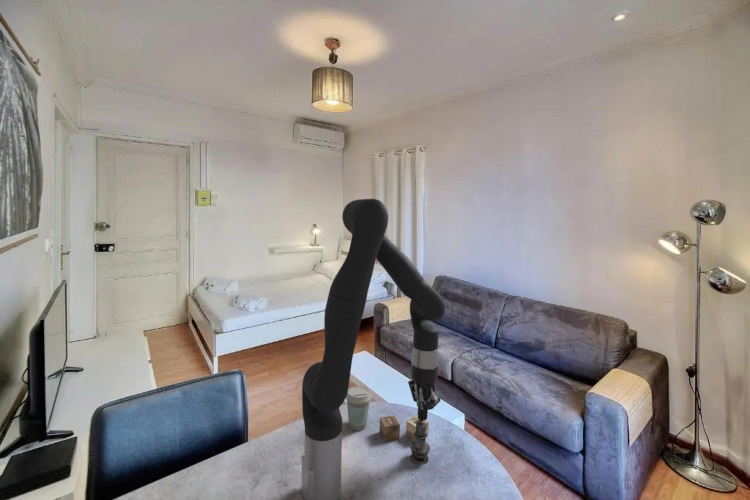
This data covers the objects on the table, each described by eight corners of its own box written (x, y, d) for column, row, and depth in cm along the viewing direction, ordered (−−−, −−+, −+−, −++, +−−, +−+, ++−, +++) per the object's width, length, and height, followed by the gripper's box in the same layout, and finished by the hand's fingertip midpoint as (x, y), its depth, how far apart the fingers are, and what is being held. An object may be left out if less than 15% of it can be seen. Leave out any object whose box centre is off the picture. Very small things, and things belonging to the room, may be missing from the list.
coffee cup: (341, 430, 112) (341, 395, 111) (350, 416, 120) (351, 383, 119) (365, 435, 110) (366, 400, 108) (373, 421, 118) (374, 387, 117)
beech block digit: (417, 443, 107) (418, 428, 106) (405, 435, 111) (406, 420, 110) (427, 436, 110) (428, 421, 110) (416, 429, 114) (416, 414, 114)
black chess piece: (429, 467, 97) (431, 427, 96) (408, 463, 98) (410, 423, 97) (430, 453, 103) (431, 415, 101) (410, 449, 104) (412, 412, 103)
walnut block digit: (384, 441, 107) (385, 426, 107) (379, 432, 112) (379, 417, 111) (399, 439, 109) (399, 424, 108) (393, 429, 113) (394, 415, 113)
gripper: (401, 355, 101) (399, 411, 103) (427, 374, 90) (425, 436, 92) (422, 351, 105) (419, 405, 107) (450, 369, 93) (447, 429, 95)
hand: (422, 419), depth 99 cm, fingers closed
